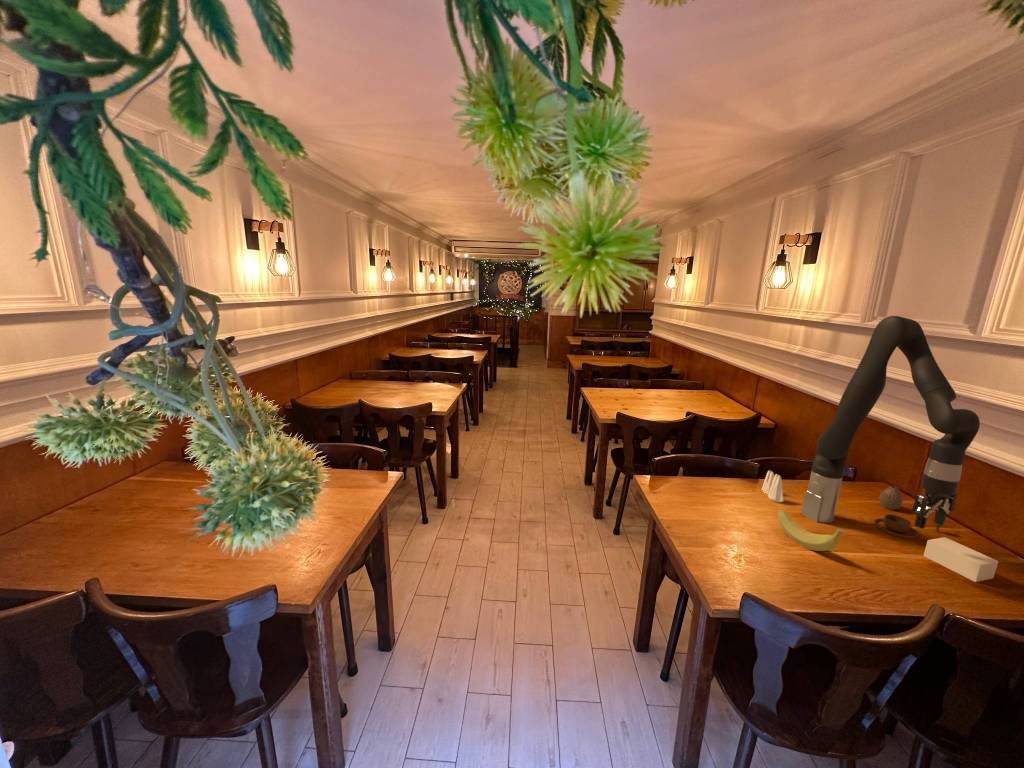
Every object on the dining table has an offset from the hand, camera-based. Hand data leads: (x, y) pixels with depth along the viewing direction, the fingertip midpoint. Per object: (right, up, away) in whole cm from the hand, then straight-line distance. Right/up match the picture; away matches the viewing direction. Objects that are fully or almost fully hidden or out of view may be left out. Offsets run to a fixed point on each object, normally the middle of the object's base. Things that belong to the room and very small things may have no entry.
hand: (929, 525), depth 130 cm
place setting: (+14, -11, +22) cm, 29 cm away
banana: (-32, -7, +18) cm, 38 cm away
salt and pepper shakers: (-21, -4, +45) cm, 49 cm away
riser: (+11, -14, +3) cm, 18 cm away
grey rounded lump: (+23, -6, +41) cm, 47 cm away
